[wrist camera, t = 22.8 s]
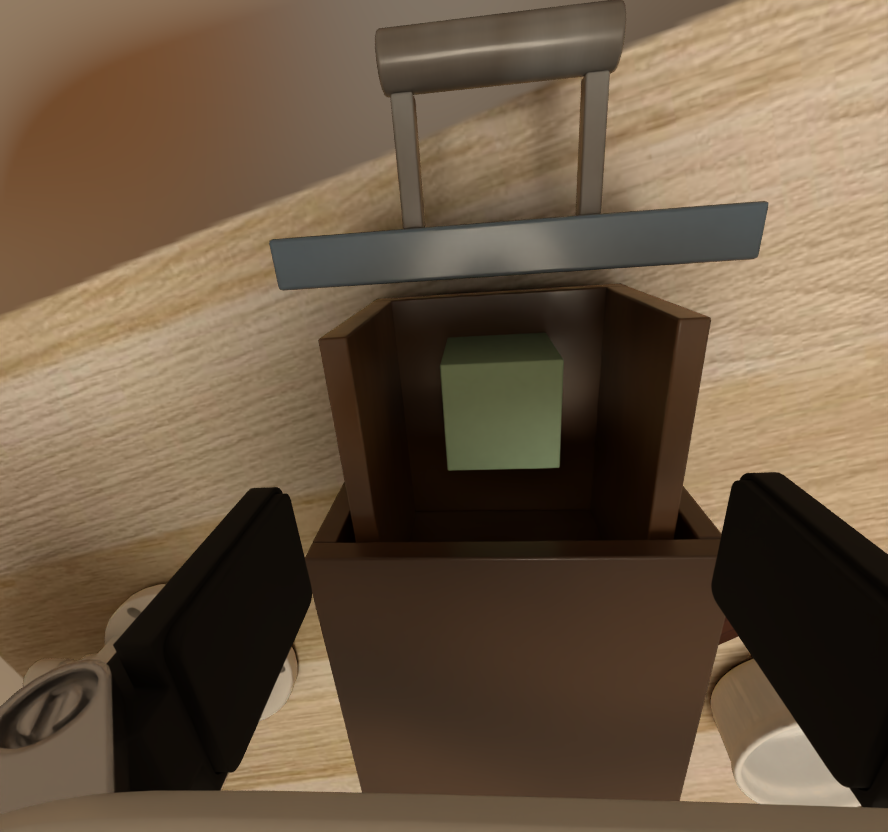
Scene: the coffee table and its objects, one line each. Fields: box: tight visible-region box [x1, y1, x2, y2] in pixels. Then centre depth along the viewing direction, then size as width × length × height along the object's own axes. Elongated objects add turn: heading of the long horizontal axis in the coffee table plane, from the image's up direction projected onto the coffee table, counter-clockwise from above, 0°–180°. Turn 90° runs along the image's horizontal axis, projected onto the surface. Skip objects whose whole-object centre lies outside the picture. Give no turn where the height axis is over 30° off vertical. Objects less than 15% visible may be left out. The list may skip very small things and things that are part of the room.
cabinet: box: [305, 482, 725, 801], centre depth 20 cm, size 15×13×10 cm
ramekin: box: [710, 659, 861, 807], centre depth 25 cm, size 9×9×4 cm
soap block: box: [440, 333, 564, 471], centre depth 17 cm, size 4×4×4 cm
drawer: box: [269, 0, 768, 543], centre depth 15 cm, size 18×11×8 cm, turn 4°
